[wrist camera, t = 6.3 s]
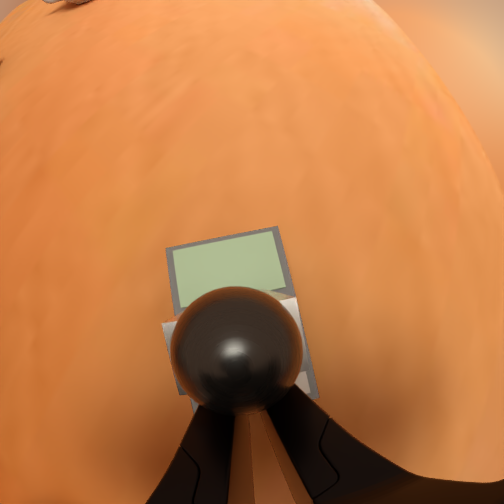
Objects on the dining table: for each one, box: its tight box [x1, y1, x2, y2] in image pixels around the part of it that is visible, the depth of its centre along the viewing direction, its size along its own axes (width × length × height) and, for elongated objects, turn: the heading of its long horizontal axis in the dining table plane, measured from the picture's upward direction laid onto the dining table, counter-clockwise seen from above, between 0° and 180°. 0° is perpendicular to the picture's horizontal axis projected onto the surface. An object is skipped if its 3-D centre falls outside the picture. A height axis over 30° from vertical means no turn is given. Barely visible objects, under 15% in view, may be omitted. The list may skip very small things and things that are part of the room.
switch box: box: [166, 226, 319, 414], centre depth 16 cm, size 9×6×3 cm, turn 12°
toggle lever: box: [162, 286, 310, 416], centre depth 9 cm, size 3×3×10 cm
